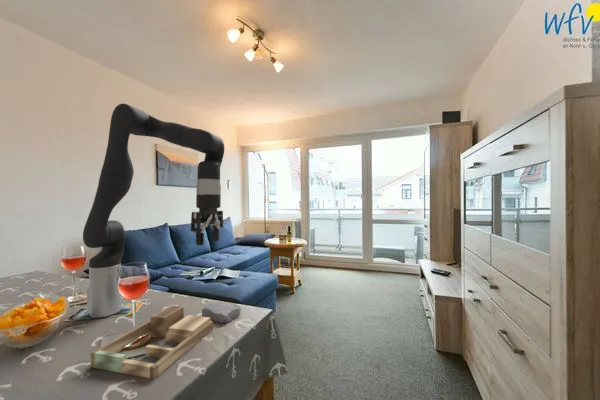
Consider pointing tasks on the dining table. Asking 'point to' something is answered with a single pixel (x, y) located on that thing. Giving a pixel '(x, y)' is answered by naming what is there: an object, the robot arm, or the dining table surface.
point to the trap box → (152, 348)
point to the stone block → (221, 311)
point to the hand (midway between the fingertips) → (208, 242)
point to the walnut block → (165, 320)
